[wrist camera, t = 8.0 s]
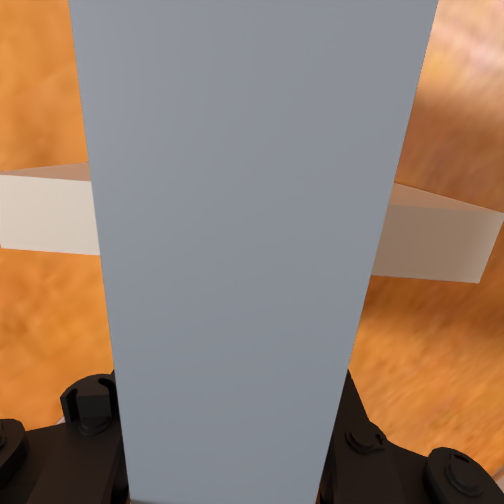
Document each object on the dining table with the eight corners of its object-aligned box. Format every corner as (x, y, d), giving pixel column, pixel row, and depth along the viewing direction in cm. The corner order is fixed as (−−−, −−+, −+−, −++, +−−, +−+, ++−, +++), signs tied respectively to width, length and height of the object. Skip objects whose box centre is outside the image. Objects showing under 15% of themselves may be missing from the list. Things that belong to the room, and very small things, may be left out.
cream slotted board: (384, 179, 17) (506, 213, 9) (375, 218, 18) (478, 283, 10) (118, 159, 17) (-18, 173, 9) (121, 199, 18) (1, 248, 9)
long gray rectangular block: (216, -2, 10) (-51, -952, 1) (310, 6, 10) (651, -864, 1) (208, 338, 15) (143, 600, 6) (270, 343, 15) (288, 609, 6)
